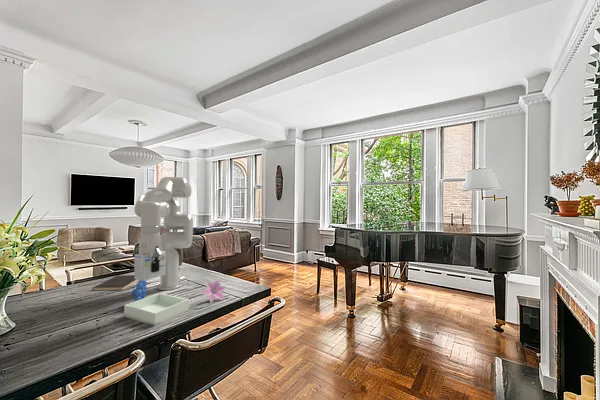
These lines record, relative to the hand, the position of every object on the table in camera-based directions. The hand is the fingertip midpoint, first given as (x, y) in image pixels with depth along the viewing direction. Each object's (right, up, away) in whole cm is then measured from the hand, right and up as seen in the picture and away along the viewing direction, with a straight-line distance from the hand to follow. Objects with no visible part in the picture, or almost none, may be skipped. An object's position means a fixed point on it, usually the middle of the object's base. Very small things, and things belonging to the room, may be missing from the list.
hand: (150, 270), depth 120 cm
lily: (+22, -20, +19) cm, 35 cm away
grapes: (-12, -19, +11) cm, 25 cm away
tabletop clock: (-24, -19, +69) cm, 75 cm away
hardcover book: (-41, -20, +42) cm, 62 cm away
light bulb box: (0, -3, 0) cm, 3 cm away
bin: (+3, -19, +1) cm, 20 cm away
